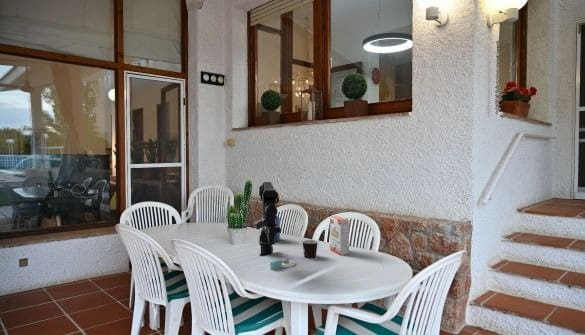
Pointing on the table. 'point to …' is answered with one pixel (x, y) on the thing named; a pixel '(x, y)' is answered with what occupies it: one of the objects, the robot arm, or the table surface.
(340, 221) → the cracker box
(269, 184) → the robot arm
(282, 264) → the dial
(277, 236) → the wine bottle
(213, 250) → the table surface
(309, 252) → the coffee mug
